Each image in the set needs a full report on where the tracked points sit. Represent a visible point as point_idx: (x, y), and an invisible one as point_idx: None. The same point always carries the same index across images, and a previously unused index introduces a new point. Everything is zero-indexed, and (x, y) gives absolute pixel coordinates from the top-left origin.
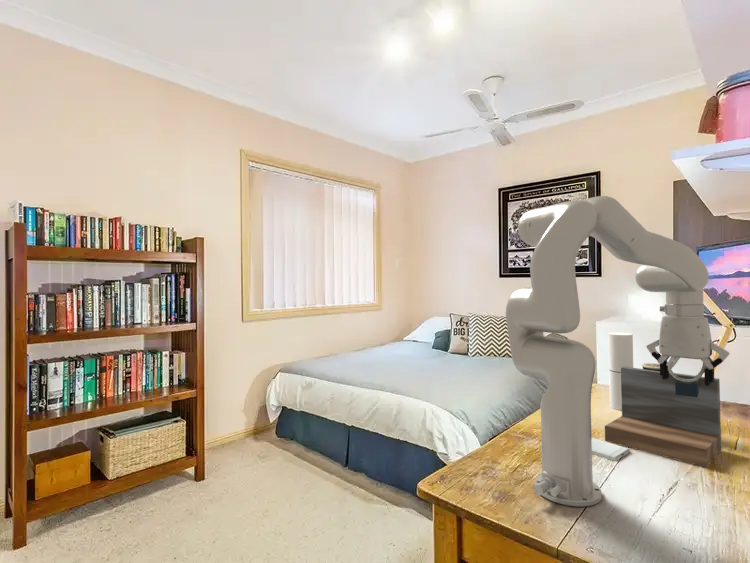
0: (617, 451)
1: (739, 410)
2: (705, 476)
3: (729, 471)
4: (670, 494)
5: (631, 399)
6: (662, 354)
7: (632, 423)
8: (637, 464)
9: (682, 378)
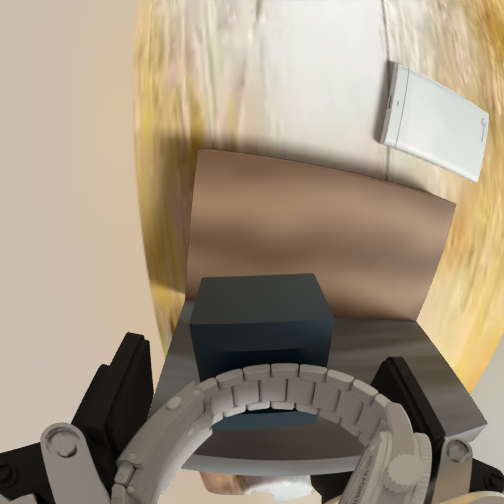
0: (403, 101)
1: (207, 480)
2: (203, 84)
3: (160, 157)
4: None
5: (419, 354)
6: (487, 491)
7: (397, 273)
8: (350, 66)
9: (290, 406)
